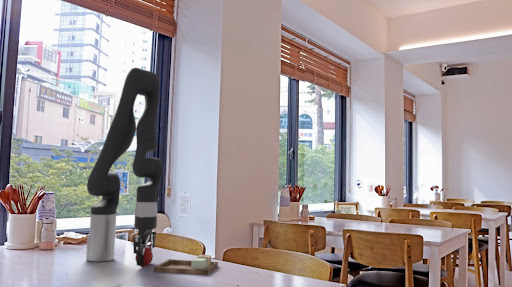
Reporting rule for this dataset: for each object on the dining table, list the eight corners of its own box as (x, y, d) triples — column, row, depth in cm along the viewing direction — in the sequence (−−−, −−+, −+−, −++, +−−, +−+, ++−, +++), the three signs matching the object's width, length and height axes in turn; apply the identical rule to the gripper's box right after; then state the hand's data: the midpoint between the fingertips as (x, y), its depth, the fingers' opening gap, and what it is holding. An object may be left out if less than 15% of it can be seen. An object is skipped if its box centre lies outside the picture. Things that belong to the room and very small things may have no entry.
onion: (147, 270, 147) (148, 246, 147) (131, 269, 148) (133, 245, 148) (155, 266, 152) (156, 243, 153) (139, 265, 154) (140, 242, 154)
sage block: (191, 272, 140) (191, 260, 140) (194, 270, 144) (195, 257, 144) (202, 273, 140) (203, 260, 140) (206, 270, 143) (206, 258, 144)
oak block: (196, 268, 146) (196, 256, 146) (199, 266, 150) (200, 254, 150) (208, 269, 145) (208, 257, 146) (211, 266, 149) (211, 255, 150)
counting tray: (153, 276, 141) (154, 266, 141) (168, 267, 153) (168, 259, 154) (207, 279, 138) (207, 270, 138) (217, 270, 150) (217, 262, 151)
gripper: (144, 212, 159) (142, 258, 158) (126, 216, 145) (124, 267, 144) (164, 213, 158) (162, 260, 157) (147, 217, 144) (145, 268, 142)
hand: (143, 263), depth 150 cm, fingers closed on onion, 6 cm apart
